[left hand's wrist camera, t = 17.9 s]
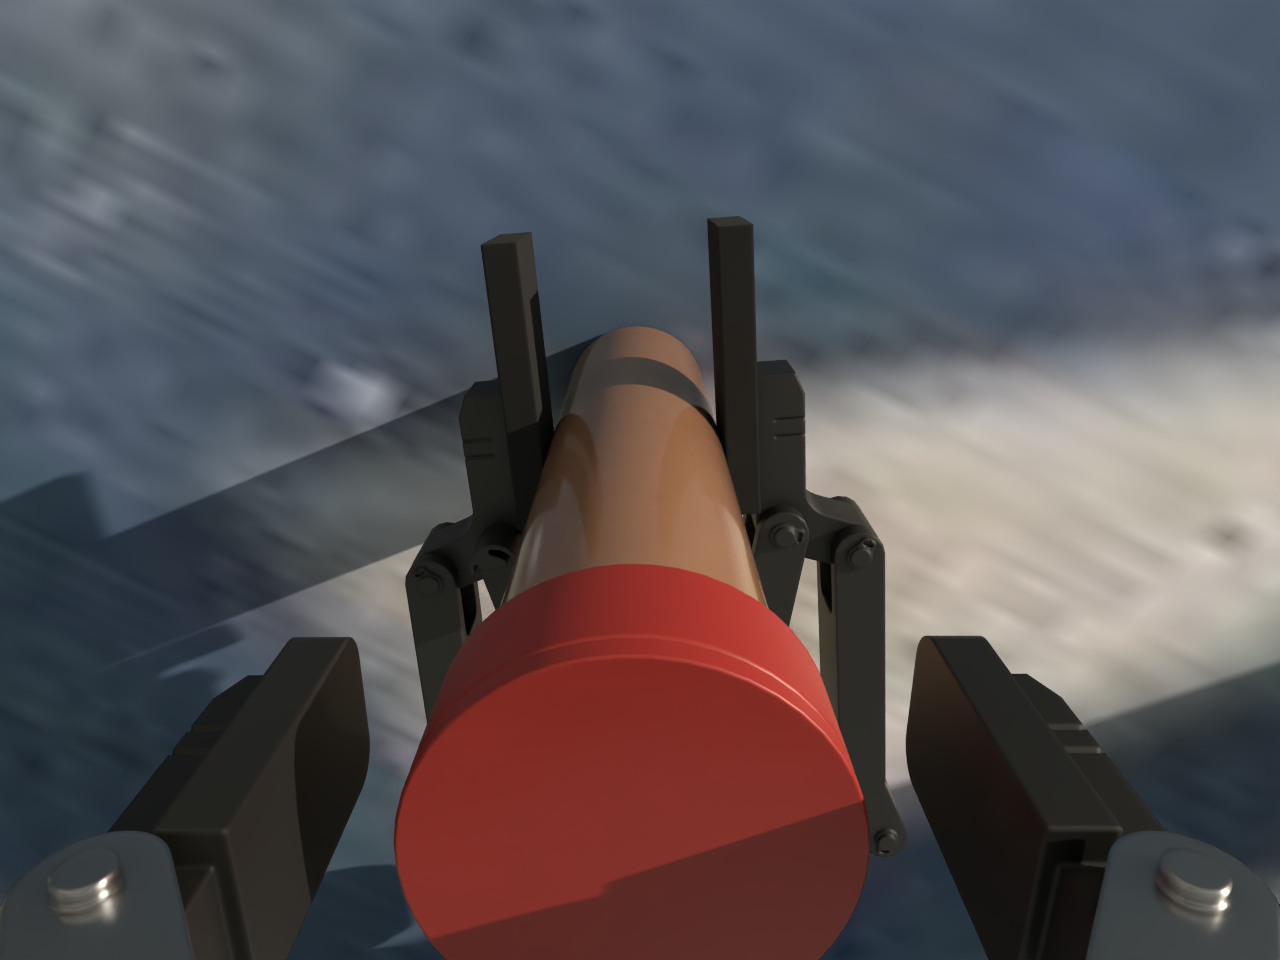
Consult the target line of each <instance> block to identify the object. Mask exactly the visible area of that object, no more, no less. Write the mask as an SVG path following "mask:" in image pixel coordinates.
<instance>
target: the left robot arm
mask: <svg viewBox="0 0 1280 960" xmlns="http://www.w3.org/2000/svg"><path fill="white" fill-rule="evenodd" d="M369 754H370V738H369V729H368V721H367V713H366V706H365V698H364V690H363V682H362V674H361V667H360V659H359V652H358V648H357V645H356V642H355V641H354V639H352V638H351V637H294V638H292V639H290V640H289V641H288V642H287V644H286V645H285V646H284V648H283V649H282V650H281V652H280V653H279V655H278V656H277V657H276V659H275V660H274V661H273V663H272V664H271V665H270V667H269V668H268V670H267V671H266V672H265V674H264V675H248V676H246V677H245V678H243V679H242V680H240V681H239V682H237V683H236V684H234V685H233V686H232V687H230V688H229V689H227V690H226V691H224V692H223V693H221V694H220V695H218V696H217V697H215V698H214V699H213V700H212V701H211V702H210V704H209V705H208V706H207V707H206V709H205V710H204V711H203V712H202V714H201V715H200V716H199V717H198V719H197V720H196V721H195V722H194V724H193V725H192V726H191V732H187V733H186V734H185V735H184V736H183V738H182V739H181V740H180V741H179V743H178V744H177V745H176V746H175V748H174V749H173V755H168V757H167V758H166V759H165V760H164V762H163V763H162V764H161V765H160V767H159V768H158V769H157V770H156V772H155V773H154V774H153V775H152V777H151V778H150V779H149V780H148V782H147V783H146V784H145V786H144V787H143V788H142V789H141V791H140V792H139V793H138V794H137V796H136V797H135V798H134V799H133V801H132V802H131V803H130V804H129V806H128V807H127V808H126V810H125V811H124V812H123V813H122V815H121V816H120V817H119V818H118V820H117V821H116V822H115V823H114V825H113V826H112V827H111V828H110V830H109V831H108V832H107V833H104V834H99V835H96V836H92V837H89V838H86V839H83V840H80V841H78V842H75V843H73V844H70V845H68V846H66V847H64V848H62V849H60V850H58V851H56V852H54V853H53V854H51V855H49V856H48V857H46V858H44V859H43V860H41V861H40V862H39V863H37V864H36V865H34V866H33V867H32V868H30V869H29V870H28V871H27V872H26V873H25V874H24V875H22V876H21V877H20V878H19V879H18V880H17V882H16V883H15V884H14V885H13V886H12V887H11V888H10V890H9V891H8V893H7V894H6V896H5V897H4V899H3V901H2V903H1V905H0V960H287V957H288V955H289V953H290V951H291V948H292V946H293V944H294V942H295V939H296V937H297V935H298V933H299V930H300V928H301V926H302V924H303V921H304V919H305V917H306V914H307V912H308V910H309V908H310V905H311V903H312V901H313V899H314V896H315V894H316V892H317V890H318V887H319V885H320V883H321V881H322V878H323V876H324V874H325V872H326V869H327V867H328V865H329V862H330V860H331V858H332V856H333V853H334V851H335V849H336V847H337V844H338V842H339V840H340V838H341V835H342V833H343V831H344V829H345V826H346V824H347V822H348V820H349V817H350V815H351V813H352V810H353V808H354V806H355V804H356V801H357V799H358V797H359V795H360V792H361V790H362V788H363V785H364V782H365V779H366V775H367V770H368V764H369ZM906 757H907V765H908V771H909V775H910V779H911V782H912V785H913V787H914V790H915V792H916V794H917V797H918V799H919V801H920V803H921V806H922V808H923V810H924V813H925V815H926V817H927V819H928V822H929V824H930V826H931V829H932V831H933V833H934V836H935V838H936V840H937V842H938V845H939V847H940V849H941V852H942V854H943V856H944V858H945V861H946V863H947V865H948V868H949V870H950V872H951V875H952V877H953V879H954V881H955V884H956V886H957V888H958V891H959V893H960V895H961V897H962V900H963V902H964V904H965V907H966V909H967V911H968V913H969V916H970V918H971V920H972V923H973V925H974V927H975V930H976V932H977V934H978V936H979V939H980V941H981V943H982V946H983V948H984V950H985V952H986V955H987V957H988V959H989V960H1280V904H1279V903H1278V901H1277V899H1276V897H1275V896H1274V894H1273V893H1272V891H1271V890H1270V888H1269V887H1268V886H1267V885H1266V884H1265V883H1264V882H1263V880H1262V879H1261V878H1260V877H1259V876H1258V875H1256V874H1255V873H1254V872H1253V871H1252V870H1251V869H1250V868H1248V867H1247V866H1246V865H1244V864H1243V863H1241V862H1240V861H1239V860H1237V859H1236V858H1234V857H1232V856H1231V855H1229V854H1227V853H1226V852H1224V851H1222V850H1220V849H1218V848H1216V847H1214V846H1212V845H1210V844H1207V843H1205V842H1202V841H1200V840H1197V839H1194V838H1191V837H1188V836H1184V835H1181V834H1176V833H1171V832H1167V831H1166V830H1165V829H1164V827H1163V826H1162V825H1161V824H1160V822H1159V821H1158V820H1157V819H1156V817H1155V816H1154V815H1153V813H1152V812H1151V811H1150V810H1149V808H1148V807H1147V806H1146V805H1145V803H1144V802H1143V801H1142V799H1141V798H1140V797H1139V796H1138V794H1137V793H1136V792H1135V791H1134V789H1133V788H1132V787H1131V785H1130V784H1129V783H1128V782H1127V780H1126V779H1125V778H1124V777H1123V775H1122V774H1121V773H1120V771H1119V770H1118V769H1117V768H1116V766H1115V765H1114V764H1113V762H1112V761H1111V760H1110V759H1109V757H1108V756H1107V755H1106V754H1105V753H1101V747H1100V746H1099V745H1098V743H1097V742H1096V741H1095V740H1094V738H1093V737H1092V736H1091V734H1090V733H1089V732H1088V731H1087V730H1083V724H1082V723H1081V722H1080V720H1079V719H1078V718H1077V717H1076V715H1075V714H1074V713H1073V712H1072V710H1071V709H1070V708H1069V706H1068V705H1067V704H1066V703H1065V701H1064V700H1063V699H1062V697H1060V696H1059V695H1057V694H1056V693H1054V692H1053V691H1051V690H1050V689H1048V688H1047V687H1045V686H1044V685H1042V684H1041V683H1040V682H1038V681H1037V680H1035V679H1034V678H1032V677H1031V676H1029V675H1028V674H1011V673H1010V671H1009V670H1008V669H1007V667H1006V666H1005V664H1004V663H1003V662H1002V660H1001V659H1000V658H999V656H998V655H997V653H996V652H995V651H994V649H993V648H992V646H991V645H990V644H989V642H988V641H987V640H986V639H985V638H984V637H982V636H924V637H922V638H921V640H920V642H919V644H918V648H917V653H916V661H915V669H914V677H913V685H912V692H911V700H910V708H909V716H908V724H907V732H906Z"/></svg>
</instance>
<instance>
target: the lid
mask: <svg viewBox="0 0 1280 960" xmlns="http://www.w3.org/2000/svg"><path fill="white" fill-rule="evenodd" d="M394 851H395V861H396V869H397V873H398V877H399V880H400V884H401V888H402V891H403V895H404V897H405V899H406V901H407V904H408V906H409V908H410V910H411V912H412V915H413V917H414V918H415V920H416V921H417V923H418V925H419V926H420V928H421V929H422V931H423V932H424V934H425V936H426V937H427V938H428V940H429V941H430V942H431V943H432V944H433V945H434V947H435V948H436V949H437V950H438V951H439V953H440V954H441V955H442V956H443V957H444V958H445V959H446V960H819V959H820V957H821V956H822V955H823V954H824V953H825V952H826V951H827V950H828V949H829V947H830V946H831V945H832V944H833V943H834V942H835V940H836V939H837V937H838V936H839V934H840V933H841V932H842V930H843V929H844V927H845V926H846V924H847V923H848V921H849V919H850V917H851V915H852V913H853V911H854V909H855V907H856V905H857V903H858V901H859V898H860V895H861V892H862V888H863V885H864V882H865V879H866V875H867V868H868V861H869V854H870V827H869V820H868V815H867V810H866V805H865V800H864V797H863V794H862V791H861V788H860V786H859V783H858V780H857V777H856V774H855V771H854V768H853V766H852V763H851V760H850V757H849V754H848V751H847V748H846V746H845V743H844V740H843V737H842V734H841V731H840V729H839V726H838V723H837V720H836V717H835V714H834V711H833V709H832V706H831V703H830V700H829V697H828V694H827V691H826V689H825V686H824V683H823V681H822V678H821V675H820V673H819V670H818V668H817V667H816V665H815V663H814V661H813V659H812V658H811V656H810V654H809V652H808V650H807V649H806V648H805V646H804V645H803V644H802V642H801V641H800V640H799V639H798V637H797V636H796V635H795V633H794V632H793V631H792V630H791V629H790V628H789V627H788V626H787V625H786V624H785V623H784V622H783V621H782V620H781V619H780V618H779V617H778V616H777V615H776V614H775V613H773V612H772V611H771V610H769V609H768V608H767V607H765V606H764V605H762V604H761V603H760V602H758V601H757V600H756V599H754V598H753V597H751V596H749V595H747V594H745V593H744V592H742V591H740V590H738V589H736V588H734V587H733V586H731V585H729V584H726V583H724V582H721V581H718V580H716V579H713V578H711V577H708V576H706V575H703V574H699V573H695V572H691V571H687V570H684V569H680V568H674V567H667V566H660V565H652V564H616V565H607V566H597V567H592V568H587V569H583V570H578V571H574V572H569V573H566V574H564V575H561V576H558V577H555V578H552V579H550V580H547V581H544V582H542V583H540V584H538V585H536V586H534V587H532V588H530V589H528V590H526V591H524V592H522V593H520V594H518V595H516V596H515V597H514V598H512V599H511V600H509V601H508V602H506V603H505V604H503V605H502V606H500V607H499V608H497V609H496V610H495V611H494V612H493V613H492V614H491V615H490V616H488V617H487V618H486V619H485V620H484V621H483V622H482V623H481V624H480V625H478V627H477V628H476V629H475V630H474V631H473V633H472V634H471V635H470V636H469V637H468V639H467V640H466V641H465V642H464V643H463V645H462V646H461V648H460V650H459V651H458V653H457V654H456V656H455V658H454V659H453V661H452V663H451V664H450V667H449V669H448V671H447V674H446V676H445V679H444V681H443V683H442V686H441V688H440V691H439V694H438V696H437V699H436V702H435V704H434V707H433V710H432V713H431V715H430V718H429V721H428V723H427V726H426V729H425V731H424V734H423V737H422V739H421V742H420V745H419V747H418V750H417V753H416V755H415V758H414V761H413V763H412V766H411V769H410V772H409V774H408V777H407V779H406V782H405V785H404V788H403V790H402V793H401V797H400V801H399V805H398V809H397V814H396V818H395V831H394Z"/></svg>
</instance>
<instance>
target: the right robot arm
mask: <svg viewBox="0 0 1280 960" xmlns="http://www.w3.org/2000/svg"><path fill="white" fill-rule="evenodd" d="M707 223H708V246H709V268H710V291H711V313H712V336H713V358H714V381H715V403H716V426H717V430H718V434H719V437H720V441H721V444H722V448H723V451H724V455H725V458H726V462H727V465H728V469H729V472H730V476H731V479H732V483H733V486H734V490H735V493H736V497H737V500H738V504H739V507H740V511H741V514H742V515H743V521H744V525H745V528H746V531H747V535H748V538H749V542H750V545H751V549H752V552H753V556H754V559H755V563H756V566H757V570H758V573H759V577H760V580H761V584H762V587H763V591H764V594H765V598H766V601H767V605H768V608H769V610H771V611H772V612H773V613H775V614H776V615H777V616H778V617H779V618H780V619H781V620H782V621H783V622H784V623H785V624H786V625H787V626H788V627H789V624H790V619H791V615H792V610H793V606H794V602H795V597H796V593H797V589H798V584H799V580H800V575H801V571H802V567H803V562H804V558H808V559H812V560H816V561H817V582H818V613H819V644H820V675H821V678H822V681H823V683H824V686H825V689H826V691H827V694H828V697H829V700H830V703H831V706H832V709H833V711H834V714H835V717H836V720H837V723H838V726H839V729H840V731H841V734H842V737H843V740H844V743H845V746H846V748H847V751H848V754H849V757H850V760H851V763H852V766H853V768H854V771H855V774H856V777H857V780H858V783H859V786H860V788H861V791H862V794H863V797H864V800H865V805H866V810H867V815H868V820H869V827H870V853H872V854H874V855H876V856H883V857H886V856H891V855H894V854H896V853H898V852H900V851H901V850H902V849H903V848H904V847H905V845H906V843H907V839H908V837H907V832H906V829H905V827H904V824H903V821H902V819H901V816H900V814H899V811H898V809H897V806H896V804H895V801H894V799H893V796H892V794H891V791H890V789H889V786H888V784H887V781H886V779H885V552H884V547H883V544H882V543H881V541H880V539H879V538H878V536H877V535H876V533H875V532H874V530H873V528H872V527H871V525H870V524H869V522H868V520H867V519H866V517H865V516H864V514H863V513H862V511H861V509H860V508H859V506H858V505H857V504H856V503H855V501H853V500H852V499H850V498H848V497H842V496H836V497H833V498H827V497H823V496H819V495H816V494H814V493H811V492H809V491H808V490H806V474H805V393H804V391H803V388H802V386H801V384H800V381H799V379H798V377H797V374H796V373H795V371H794V370H793V368H792V367H791V366H790V364H789V363H788V362H787V360H776V361H762V362H757V354H756V317H755V280H754V243H753V224H752V223H750V222H748V221H747V220H745V219H743V218H741V217H740V216H735V217H722V218H709V219H707ZM481 251H482V259H483V266H484V274H485V282H486V289H487V297H488V304H489V312H490V319H491V327H492V334H493V342H494V349H495V357H496V364H497V372H498V379H499V380H495V381H481V382H475V383H474V384H473V386H472V387H471V388H470V390H469V391H468V392H467V394H466V395H465V396H464V400H463V404H462V408H461V412H460V416H459V422H460V428H461V435H462V440H463V448H464V455H465V458H466V460H465V461H466V468H467V475H468V481H469V488H470V494H471V501H472V508H473V515H471V516H469V517H468V518H466V519H463V520H461V521H459V522H456V523H449V522H446V523H442V524H439V525H437V526H436V527H434V528H433V529H432V531H431V532H430V534H429V536H428V538H427V539H426V540H425V542H424V544H423V546H422V548H421V549H420V551H419V553H418V555H417V556H416V558H415V560H414V562H413V564H412V566H411V568H410V570H409V572H408V573H407V575H406V582H405V586H406V592H407V599H408V605H409V611H410V618H411V624H412V630H413V637H414V643H415V649H416V656H417V662H418V668H419V675H420V681H421V687H422V694H423V700H424V707H425V713H426V719H427V723H428V721H429V718H430V715H431V713H432V710H433V707H434V704H435V702H436V699H437V696H438V694H439V691H440V688H441V686H442V683H443V681H444V679H445V676H446V674H447V671H448V669H449V667H450V664H451V663H452V661H453V659H454V658H455V656H456V654H457V653H458V651H459V650H460V648H461V646H462V645H463V643H464V642H465V641H466V640H467V639H468V637H469V636H470V635H471V634H472V633H473V631H474V630H475V629H476V628H477V627H478V625H480V624H481V623H482V614H481V606H480V598H479V591H478V583H477V581H479V580H482V579H483V580H484V582H485V585H486V587H487V590H488V592H489V595H490V597H491V600H492V602H493V605H494V607H495V610H496V609H497V608H499V607H500V606H501V602H502V599H503V596H504V593H505V589H506V586H507V583H508V580H509V576H510V573H511V570H512V567H513V563H514V560H515V557H516V554H517V550H518V547H519V544H520V541H521V537H522V534H523V531H524V528H525V525H526V521H527V518H528V515H529V512H530V508H531V505H532V502H533V499H534V495H535V492H536V489H537V486H538V482H539V479H540V476H541V473H542V469H543V466H544V463H545V460H546V457H547V453H548V450H549V447H550V444H551V440H552V437H553V434H554V428H553V419H552V410H551V401H550V393H549V384H548V375H547V366H546V357H545V348H544V340H543V331H542V322H541V313H540V304H539V295H538V286H537V278H536V269H535V260H534V251H533V242H532V233H531V232H527V233H514V234H501V235H498V236H496V237H495V238H493V239H491V240H489V241H487V242H485V243H483V244H482V245H481Z"/></svg>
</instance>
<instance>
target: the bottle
mask: <svg viewBox="0 0 1280 960" xmlns="http://www.w3.org/2000/svg"><path fill="white" fill-rule="evenodd" d="M616 564H652V565H660V566H667V567H674V568H680V569H684V570H687V571H691V572H695V573H699V574H703V575H706V576H708V577H711V578H713V579H716V580H718V581H721V582H724V583H726V584H729V585H731V586H733V587H734V588H736V589H738V590H740V591H742V592H744V593H745V594H747V595H749V596H751V597H753V598H754V599H756V600H757V601H758V602H760V603H761V604H762V605H764V606H765V607H767V608H768V605H767V601H766V598H765V594H764V591H763V587H762V584H761V580H760V577H759V573H758V570H757V566H756V563H755V559H754V556H753V552H752V549H751V545H750V542H749V538H748V535H747V531H746V528H745V525H744V521H743V518H742V514H741V511H740V507H739V504H738V500H737V497H736V493H735V490H734V486H733V483H732V479H731V476H730V472H729V469H728V465H727V462H726V458H725V455H724V451H723V448H722V444H721V441H720V437H719V434H718V430H717V427H716V423H715V420H714V416H713V413H712V409H711V406H710V402H709V399H708V395H707V392H706V388H705V385H704V381H703V378H702V374H701V371H700V369H699V366H698V364H697V362H696V360H695V359H694V357H693V355H692V354H691V353H690V351H689V350H688V349H687V348H686V347H685V346H684V345H683V344H682V343H681V342H680V341H678V340H677V339H676V338H674V337H673V336H671V335H669V334H667V333H665V332H663V331H660V330H658V329H653V328H649V327H641V326H632V327H624V328H620V329H616V330H613V331H611V332H608V333H606V334H604V335H603V336H601V337H599V338H598V339H596V340H595V341H594V342H593V343H591V344H590V345H589V346H588V347H587V348H586V349H585V350H584V352H583V353H582V355H581V356H580V357H579V359H578V361H577V363H576V365H575V367H574V370H573V372H572V376H571V379H570V382H569V385H568V388H567V392H566V395H565V398H564V401H563V405H562V408H561V411H560V414H559V418H558V421H557V424H556V427H555V431H554V434H553V437H552V440H551V444H550V447H549V450H548V453H547V457H546V460H545V463H544V466H543V469H542V473H541V476H540V479H539V482H538V486H537V489H536V492H535V495H534V499H533V502H532V505H531V508H530V512H529V515H528V518H527V521H526V525H525V528H524V531H523V534H522V537H521V541H520V544H519V547H518V550H517V554H516V557H515V560H514V563H513V567H512V570H511V573H510V576H509V580H508V583H507V586H506V589H505V593H504V596H503V599H502V602H501V606H502V605H503V604H505V603H506V602H508V601H509V600H511V599H512V598H514V597H515V596H516V595H518V594H520V593H522V592H524V591H526V590H528V589H530V588H532V587H534V586H536V585H538V584H540V583H542V582H544V581H547V580H550V579H552V578H555V577H558V576H561V575H564V574H566V573H569V572H574V571H578V570H583V569H587V568H592V567H597V566H607V565H616ZM768 609H769V608H768Z"/></svg>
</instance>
